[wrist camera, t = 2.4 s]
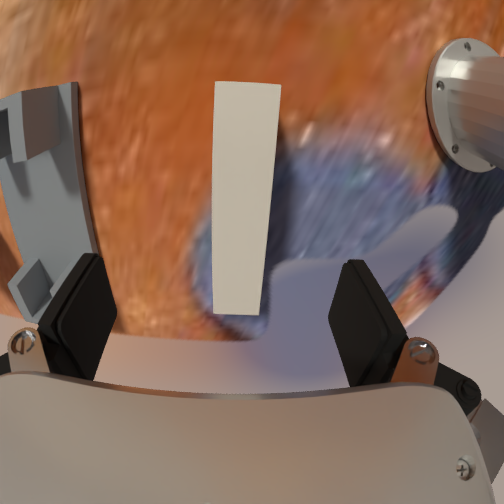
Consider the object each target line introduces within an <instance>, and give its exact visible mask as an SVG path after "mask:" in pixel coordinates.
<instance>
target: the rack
mask: <svg viewBox="0 0 504 504" xmlns="http://www.w3.org/2000/svg"><path fill="white" fill-rule="evenodd" d="M0 181H1V185H2V190H3V195H4V199H5V203H6V207H7V211H8V215H9V218H10V222H11V225H12V229H13V232H14V235H15V239H16V242H17V245H18V248H19V251H20V253H21V256H22V259H23V262H24V265H23V266H22V267H21V268H20V269H19V270H18V272H17V273H16V274H15V275H14V276H13V278H12V279H11V280H10V281H9V283H8V284H7V285H8V287H9V289H10V291H11V294H12V296H13V298H14V300H15V302H16V304H17V306H18V308H19V310H20V312H21V314H22V316H23V317H24V319H25V321H27V322H31V323H35V324H38V322H39V320H40V318H41V316H42V315H43V313H44V311H45V310H46V308H47V307H48V305H49V303H50V302H51V300H52V299H53V297H54V295H55V294H56V292H57V291H58V289H59V288H60V286H61V285H62V283H63V282H64V280H65V279H66V277H67V276H68V274H69V273H70V271H71V270H72V269H73V267H74V266H75V264H76V263H77V262H78V260H79V259H80V257H81V256H82V255H83V254H84V253H97V254H98V255H99V253H98V249H97V244H96V240H95V235H94V231H93V226H92V221H91V216H90V211H89V205H88V199H87V193H86V187H85V180H84V173H83V165H82V156H81V146H80V134H79V119H78V82H70V83H66V84H62V85H58V86H50V87H43V88H37V89H31V90H26V91H21V92H18V93H15V94H13V95H10V96H8V97H5V98H3V99H0Z"/></svg>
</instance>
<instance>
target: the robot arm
mask: <svg viewBox="0 0 504 504" xmlns="http://www.w3.org/2000/svg"><path fill="white" fill-rule="evenodd" d="M426 100H427V108H428V115H429V118H430V122H431V126H432V129H433V132H434V134H435V136H436V139H437V141H438V143H439V144H440V146H441V148H442V149H443V151H444V152H445V153H446V154H447V156H448V157H449V158H450V159H451V160H452V161H454V162H455V163H456V164H457V165H459V166H461V167H463V168H465V169H466V170H469V171H472V172H481V173H483V172H487V171H490V170H492V169H494V168H496V167H498V168H499V169H501V170H503V171H504V57H500V56H499V55H498V54H497V53H496V52H495V51H494V50H493V49H492V48H491V47H489V46H488V45H487V44H485V43H483V42H481V41H479V40H476V39H472V38H459V39H454V40H451V41H449V42H447V43H445V44H444V45H443V46H442V47H441V48H440V49H439V50H438V51H437V53H436V55H435V56H434V58H433V60H432V62H431V66H430V69H429V72H428V78H427V85H426ZM116 316H117V308H116V305H115V302H114V298H113V295H112V291H111V288H110V284H109V280H108V277H107V273H106V269H105V265H104V261H103V258H102V257H99V255H98V254H97V253H84V254H83V255H82V256H81V257H80V259H79V260H78V262H77V263H76V264H75V266H74V267H73V269H72V270H71V271H70V273H69V274H68V276H67V277H66V279H65V280H64V282H63V283H62V285H61V286H60V288H59V289H58V291H57V292H56V294H55V295H54V297H53V299H52V300H51V302H50V303H49V305H48V307H47V308H46V310H45V311H44V313H43V315H42V316H41V318H40V320H39V322H38V325H39V327H38V329H37V330H35V329H33V328H23V329H20V330H18V331H17V332H15V333H14V334H13V335H12V337H11V338H10V340H9V342H8V352H7V353H5V354H4V355H2V356H0V504H496V503H495V499H494V494H493V489H492V486H491V484H492V483H493V481H494V479H495V477H496V475H497V474H498V472H499V470H500V468H501V466H502V464H503V462H504V415H502V413H500V412H499V411H498V410H497V409H496V408H495V407H494V406H493V405H492V404H491V403H490V402H489V401H487V400H486V399H484V400H483V401H482V400H481V391H480V389H479V387H478V385H477V384H476V383H475V382H474V381H473V380H472V379H470V378H468V377H466V376H464V375H462V374H460V373H458V372H456V371H455V370H453V369H451V368H449V367H447V366H445V365H443V364H441V363H439V354H438V350H437V349H436V347H435V346H434V345H433V344H432V343H431V342H430V341H428V340H426V339H424V338H420V337H414V338H410V339H409V338H408V336H407V335H406V333H407V332H406V330H405V329H404V327H403V325H402V323H401V321H400V320H399V318H398V316H397V314H396V313H395V311H394V309H393V307H392V306H391V304H390V302H389V301H388V299H387V297H386V295H385V294H384V292H383V290H382V289H381V287H380V286H379V284H378V282H377V281H376V279H375V278H374V276H373V274H372V273H371V271H370V269H369V268H368V266H367V265H366V263H365V262H364V260H353V259H350V260H348V262H347V263H344V265H343V267H342V270H341V274H340V277H339V281H338V285H337V288H336V291H335V295H334V298H333V301H332V304H331V308H330V311H329V315H328V319H329V324H330V327H331V330H332V333H333V336H334V339H335V342H336V345H337V348H338V350H339V354H340V357H341V360H342V363H343V366H344V369H345V373H346V376H347V379H348V382H349V385H350V387H348V388H339V389H329V390H319V391H307V392H292V393H271V394H212V393H211V394H210V393H191V392H176V391H164V390H153V389H144V388H136V387H129V386H122V385H114V384H109V383H103V382H96V381H93V380H94V377H95V374H96V371H97V368H98V365H99V362H100V359H101V356H102V353H103V351H104V348H105V345H106V342H107V340H108V337H109V334H110V332H111V329H112V327H113V324H114V322H115V319H116Z"/></svg>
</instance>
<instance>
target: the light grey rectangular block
mask: <svg viewBox="0 0 504 504" xmlns="http://www.w3.org/2000/svg"><path fill="white" fill-rule="evenodd" d="M280 94H281V85H276V84H264V83H249V82H218V81H215V97H214V122H213V157H212V276H213V312H214V314H235V315H259V308H260V299H261V290H262V281H263V272H264V262H265V253H266V243H267V233H268V223H269V214H270V203H271V193H272V183H273V172H274V162H275V151H276V140H277V129H278V118H279V106H280Z"/></svg>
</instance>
